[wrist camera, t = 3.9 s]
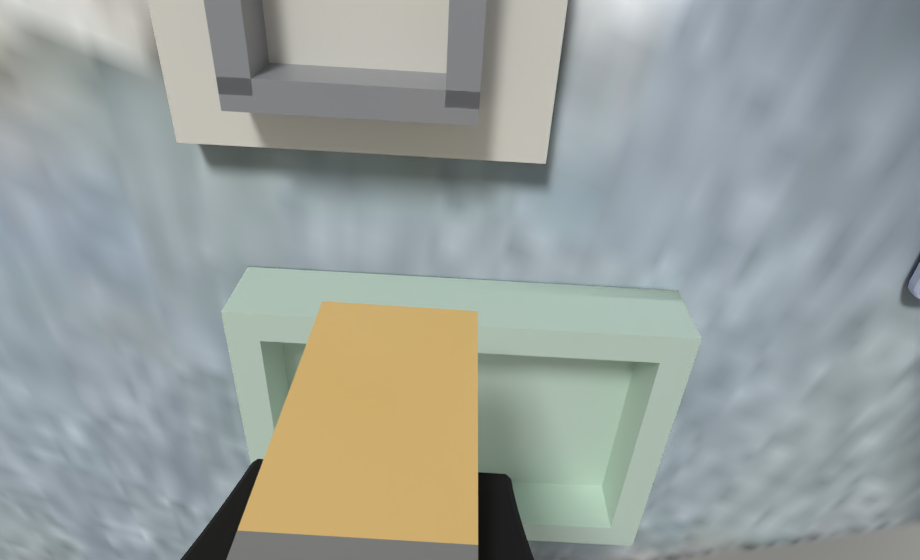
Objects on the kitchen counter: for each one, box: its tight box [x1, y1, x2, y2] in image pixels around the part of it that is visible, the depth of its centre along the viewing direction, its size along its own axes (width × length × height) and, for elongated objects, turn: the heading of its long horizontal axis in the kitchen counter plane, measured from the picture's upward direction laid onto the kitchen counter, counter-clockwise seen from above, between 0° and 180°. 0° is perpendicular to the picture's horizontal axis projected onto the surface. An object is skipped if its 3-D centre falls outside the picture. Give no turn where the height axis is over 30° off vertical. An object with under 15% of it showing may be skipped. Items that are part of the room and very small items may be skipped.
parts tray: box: [221, 267, 702, 546], centre depth 22 cm, size 14×10×2 cm
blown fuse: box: [226, 301, 478, 560], centre depth 10 cm, size 3×4×6 cm
